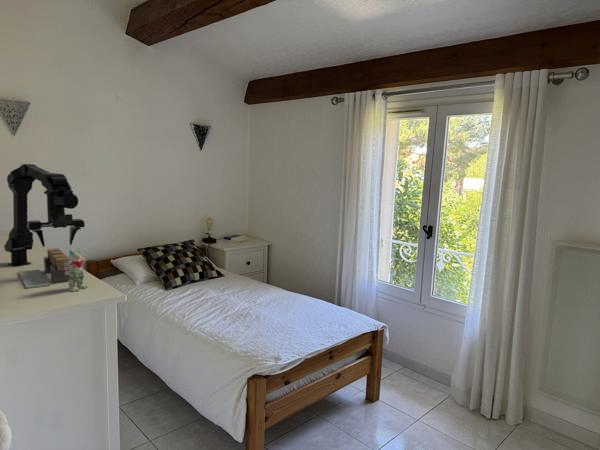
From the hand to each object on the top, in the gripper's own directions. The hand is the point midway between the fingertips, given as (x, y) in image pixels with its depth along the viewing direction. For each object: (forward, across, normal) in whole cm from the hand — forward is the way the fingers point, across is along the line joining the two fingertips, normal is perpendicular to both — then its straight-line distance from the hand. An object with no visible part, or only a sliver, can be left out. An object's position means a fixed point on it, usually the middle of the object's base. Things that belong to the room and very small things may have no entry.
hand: (57, 245), depth 159 cm
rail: (+7, 0, 0) cm, 7 cm away
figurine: (+12, +2, -21) cm, 25 cm away
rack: (+12, 0, 0) cm, 12 cm away
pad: (+12, -8, 0) cm, 15 cm away
